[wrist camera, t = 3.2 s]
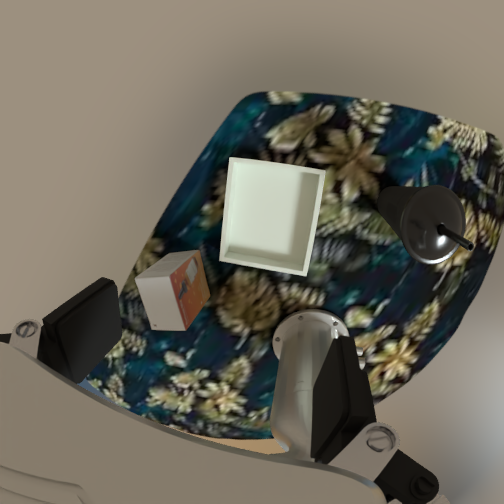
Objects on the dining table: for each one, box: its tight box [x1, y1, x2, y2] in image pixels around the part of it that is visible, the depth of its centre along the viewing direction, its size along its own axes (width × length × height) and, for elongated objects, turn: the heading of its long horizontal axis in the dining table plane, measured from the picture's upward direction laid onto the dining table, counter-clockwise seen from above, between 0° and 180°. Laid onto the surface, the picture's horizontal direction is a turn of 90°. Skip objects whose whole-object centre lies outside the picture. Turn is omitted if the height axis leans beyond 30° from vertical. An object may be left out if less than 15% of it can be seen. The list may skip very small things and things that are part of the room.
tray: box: [219, 157, 326, 276], centre depth 36 cm, size 12×14×3 cm
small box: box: [135, 250, 210, 331], centre depth 38 cm, size 8×6×10 cm
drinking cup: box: [377, 185, 474, 265], centre depth 24 cm, size 8×8×20 cm
